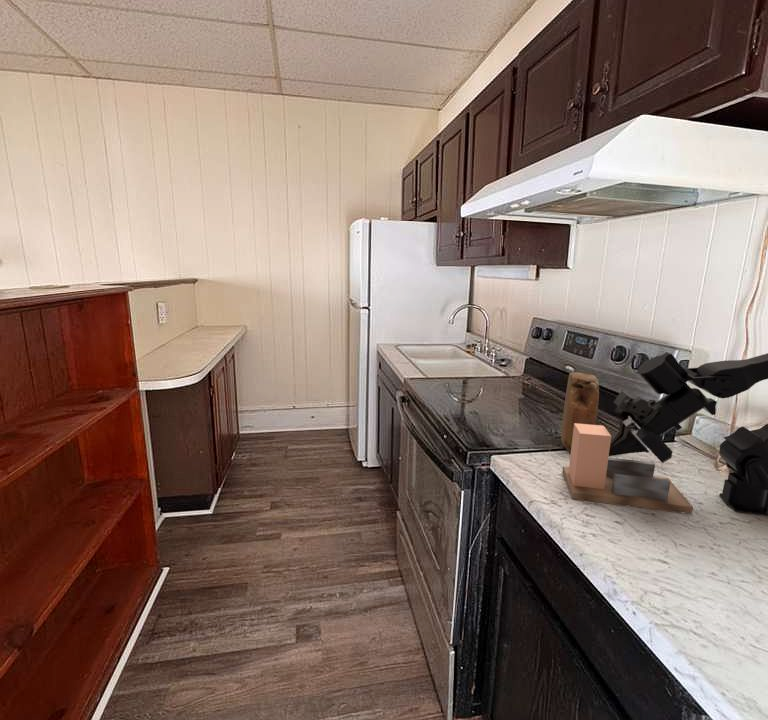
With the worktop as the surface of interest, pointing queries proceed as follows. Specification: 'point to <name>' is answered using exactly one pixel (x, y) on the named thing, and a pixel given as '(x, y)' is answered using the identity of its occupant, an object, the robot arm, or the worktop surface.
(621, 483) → the chute
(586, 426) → the block
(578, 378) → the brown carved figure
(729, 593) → the worktop surface
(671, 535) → the worktop surface
